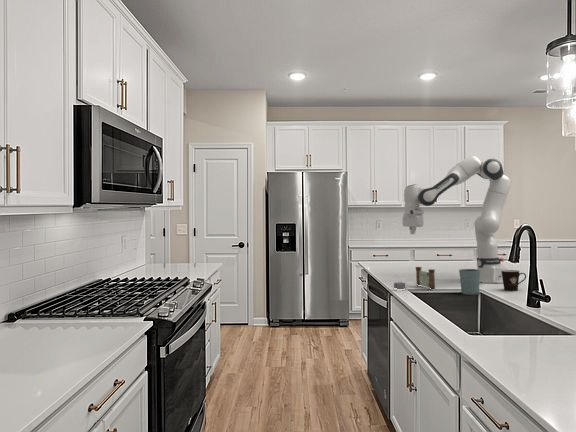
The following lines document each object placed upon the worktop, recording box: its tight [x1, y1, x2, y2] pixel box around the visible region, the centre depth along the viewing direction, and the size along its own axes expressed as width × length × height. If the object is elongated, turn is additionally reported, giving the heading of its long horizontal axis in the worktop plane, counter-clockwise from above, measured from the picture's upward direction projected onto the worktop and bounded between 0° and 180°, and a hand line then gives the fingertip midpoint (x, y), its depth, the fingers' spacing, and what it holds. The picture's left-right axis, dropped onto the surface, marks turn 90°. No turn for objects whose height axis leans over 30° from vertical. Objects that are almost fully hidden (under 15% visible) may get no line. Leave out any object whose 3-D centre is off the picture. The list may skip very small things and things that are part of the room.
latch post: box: [427, 268, 436, 290], centre depth 263 cm, size 4×5×11 cm
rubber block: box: [393, 281, 406, 289], centre depth 264 cm, size 4×4×4 cm
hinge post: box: [415, 266, 422, 285], centre depth 276 cm, size 3×3×11 cm
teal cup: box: [458, 268, 481, 296], centre depth 246 cm, size 10×10×12 cm
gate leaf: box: [419, 270, 430, 288], centre depth 269 cm, size 2×10×8 cm, turn 12°
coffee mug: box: [501, 269, 527, 292], centre depth 251 cm, size 12×9×10 cm
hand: (412, 234), depth 291 cm, fingers closed
